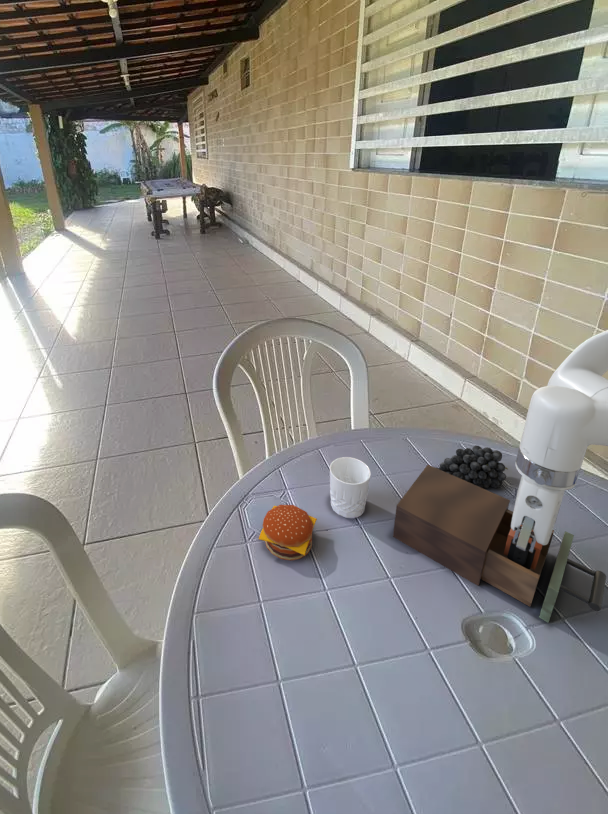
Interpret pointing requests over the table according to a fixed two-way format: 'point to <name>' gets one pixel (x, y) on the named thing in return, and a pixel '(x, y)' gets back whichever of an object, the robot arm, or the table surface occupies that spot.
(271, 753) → the table surface
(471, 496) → the cabinet
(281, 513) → the hamburger
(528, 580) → the drawer
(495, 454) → the fruit
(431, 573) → the table surface
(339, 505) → the white cup
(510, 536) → the block
